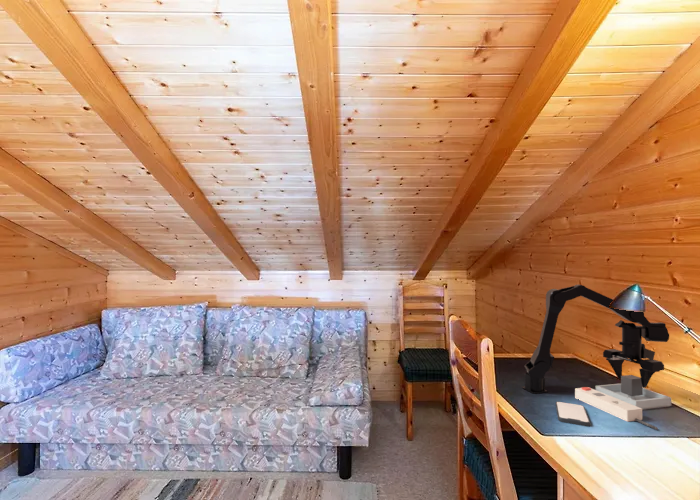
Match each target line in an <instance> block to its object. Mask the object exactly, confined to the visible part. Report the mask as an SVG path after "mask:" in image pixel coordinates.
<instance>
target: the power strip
mask: <svg viewBox="0 0 700 500" xmlns="http://www.w3.org/2000/svg"><path fill="white" fill-rule="evenodd" d="M574 398H575V399H576V400H578V399H579V401H580V402H583V403H585V404H588V405H590V406H591V407H594V408H596V409H598V410H601V411H603V412H605V413H608V414H610V415H611V416H613V417H616V418H619V419H621V420H623V421H625V422H628V423H629V422H637V423H639V424H642V425H644V426H647V427H649V428H651V429H653V430H656V431H657V430H659V429H658V427H657V426H655V425H654V424H651V423H649V422H646V421H643V410H642V408H639V407H637V406H634V405H632V404H629V403H627V402H624V401H622V400H619V399H617V398H614V397H612V396H609V395H607V394H604V393H602V392H599V391H597V390H596V389H595V388H591V387H588V386H581V387H577V388H574Z"/></svg>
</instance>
